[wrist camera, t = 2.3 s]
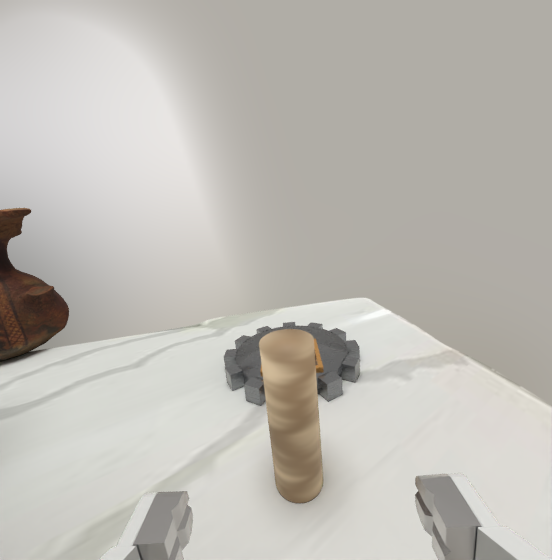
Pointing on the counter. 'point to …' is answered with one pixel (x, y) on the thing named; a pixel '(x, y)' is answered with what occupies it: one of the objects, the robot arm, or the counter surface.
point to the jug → (24, 298)
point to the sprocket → (328, 359)
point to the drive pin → (293, 412)
